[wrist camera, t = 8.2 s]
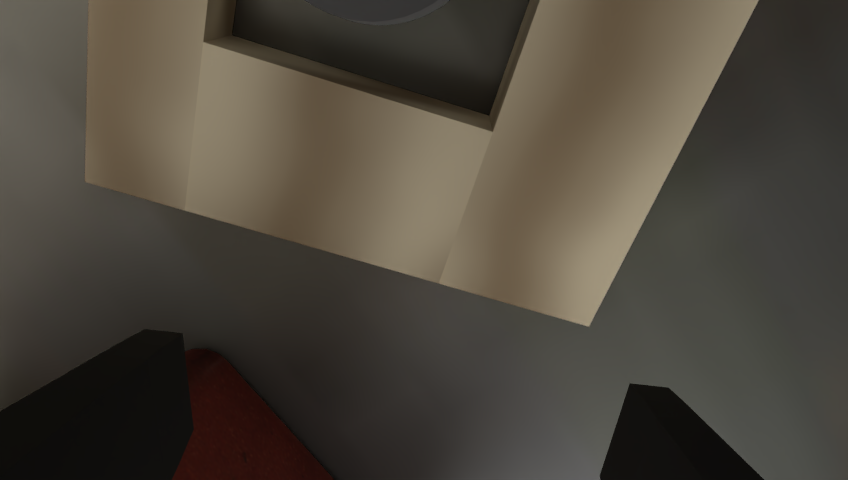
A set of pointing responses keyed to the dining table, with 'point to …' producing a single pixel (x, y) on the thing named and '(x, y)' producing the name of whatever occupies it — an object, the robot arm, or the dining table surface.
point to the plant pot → (237, 430)
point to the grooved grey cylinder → (378, 10)
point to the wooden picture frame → (414, 140)
